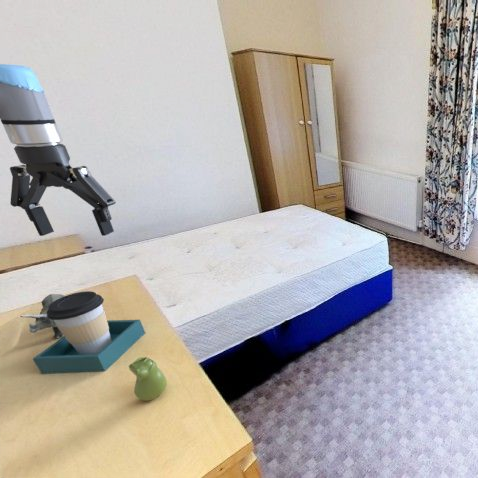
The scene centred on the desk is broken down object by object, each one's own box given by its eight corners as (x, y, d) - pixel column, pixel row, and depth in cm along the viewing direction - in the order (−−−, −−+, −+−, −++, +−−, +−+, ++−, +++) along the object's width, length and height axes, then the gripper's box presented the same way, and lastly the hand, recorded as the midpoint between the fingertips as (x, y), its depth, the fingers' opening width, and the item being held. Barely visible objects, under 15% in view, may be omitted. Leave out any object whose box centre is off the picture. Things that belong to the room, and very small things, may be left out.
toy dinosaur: (51, 313, 94) (34, 281, 90) (91, 303, 99) (77, 271, 95) (39, 356, 79) (18, 319, 75) (87, 341, 84) (70, 305, 80)
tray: (41, 373, 74) (32, 358, 72) (91, 334, 87) (84, 320, 85) (104, 371, 76) (97, 356, 74) (145, 333, 88) (140, 319, 86)
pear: (174, 391, 71) (161, 357, 67) (146, 410, 67) (130, 374, 63) (161, 381, 74) (148, 348, 70) (133, 398, 69) (117, 363, 65)
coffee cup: (83, 341, 83) (59, 293, 77) (128, 333, 87) (108, 286, 81) (61, 367, 75) (32, 316, 69) (111, 358, 79) (87, 308, 73)
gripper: (114, 143, 74) (143, 227, 83) (-6, 140, 72) (36, 227, 80) (86, 148, 68) (121, 239, 76) (-48, 145, 65) (3, 239, 74)
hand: (77, 233), depth 78 cm, fingers open, 13 cm apart
